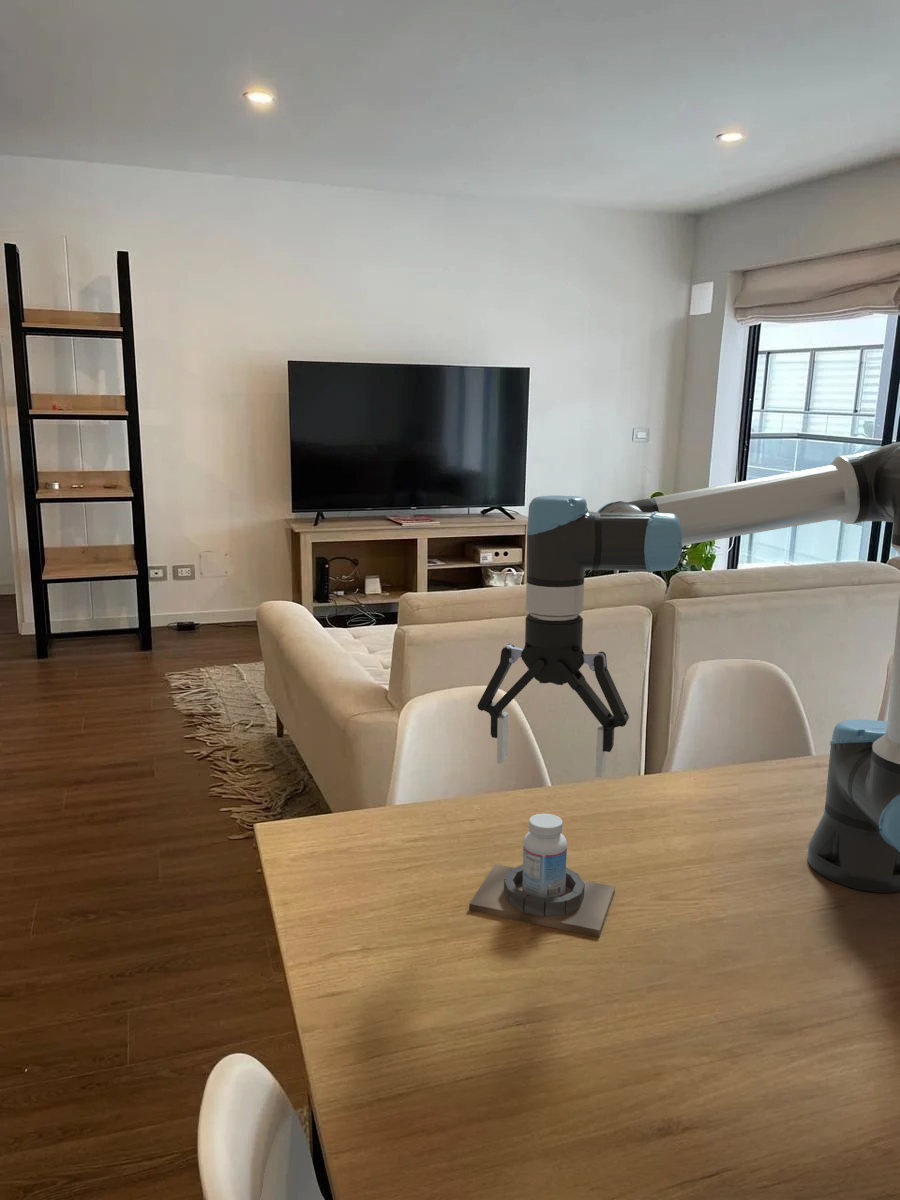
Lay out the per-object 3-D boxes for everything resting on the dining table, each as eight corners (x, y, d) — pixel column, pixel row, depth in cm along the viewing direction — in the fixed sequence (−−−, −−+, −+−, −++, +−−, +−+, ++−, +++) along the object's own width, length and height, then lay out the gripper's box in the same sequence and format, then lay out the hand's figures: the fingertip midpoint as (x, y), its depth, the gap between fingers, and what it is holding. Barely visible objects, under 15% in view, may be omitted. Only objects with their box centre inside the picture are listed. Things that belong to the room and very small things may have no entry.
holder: (614, 892, 127) (615, 873, 126) (599, 937, 116) (600, 916, 115) (494, 870, 133) (495, 851, 132) (469, 910, 122) (469, 890, 121)
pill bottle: (564, 885, 127) (567, 812, 124) (565, 907, 121) (569, 831, 119) (521, 882, 127) (524, 809, 125) (521, 904, 121) (523, 828, 119)
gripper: (654, 615, 115) (646, 768, 120) (473, 602, 124) (472, 745, 128) (646, 627, 108) (639, 789, 113) (455, 612, 117) (454, 764, 121)
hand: (550, 766), depth 120 cm, fingers open, 13 cm apart
